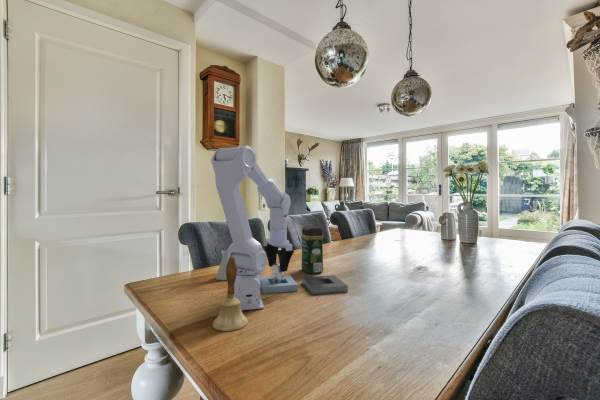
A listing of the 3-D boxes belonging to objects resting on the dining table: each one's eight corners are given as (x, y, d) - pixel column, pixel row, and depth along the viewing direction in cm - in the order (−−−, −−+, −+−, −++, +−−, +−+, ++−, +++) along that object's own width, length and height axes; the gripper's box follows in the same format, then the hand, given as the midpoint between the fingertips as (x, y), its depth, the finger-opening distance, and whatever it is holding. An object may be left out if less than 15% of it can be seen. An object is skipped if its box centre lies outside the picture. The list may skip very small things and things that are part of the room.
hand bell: (233, 313, 75) (233, 252, 74) (255, 322, 69) (255, 257, 69) (205, 324, 68) (205, 257, 68) (226, 335, 63) (226, 263, 63)
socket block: (347, 291, 92) (347, 285, 92) (312, 294, 89) (312, 288, 89) (333, 280, 103) (334, 275, 103) (302, 282, 100) (302, 277, 100)
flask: (237, 275, 108) (238, 249, 108) (231, 281, 101) (232, 253, 101) (219, 275, 109) (219, 248, 109) (212, 280, 102) (212, 252, 102)
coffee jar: (299, 268, 119) (299, 224, 119) (316, 267, 122) (317, 224, 121) (306, 275, 110) (307, 227, 110) (325, 273, 112) (326, 226, 112)
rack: (297, 290, 92) (297, 284, 92) (263, 293, 89) (263, 287, 89) (290, 280, 103) (290, 275, 103) (259, 282, 100) (259, 277, 100)
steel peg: (285, 288, 94) (285, 265, 94) (272, 288, 94) (273, 266, 94) (283, 284, 98) (284, 262, 98) (272, 285, 98) (272, 263, 98)
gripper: (300, 229, 92) (299, 271, 92) (277, 225, 104) (277, 262, 104) (281, 231, 88) (281, 275, 88) (260, 226, 100) (259, 265, 100)
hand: (277, 268), depth 96 cm, fingers open, 7 cm apart
